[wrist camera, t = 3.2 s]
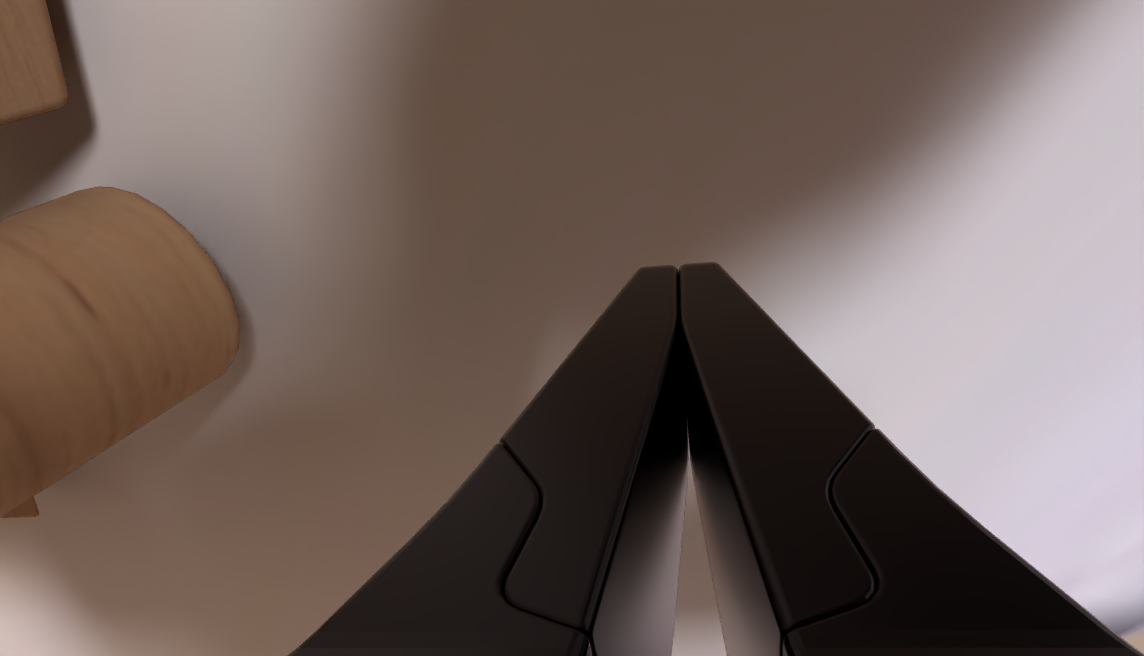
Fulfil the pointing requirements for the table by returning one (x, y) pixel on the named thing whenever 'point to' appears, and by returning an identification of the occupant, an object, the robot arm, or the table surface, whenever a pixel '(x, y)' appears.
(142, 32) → the table surface
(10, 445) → the wooden block set
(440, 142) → the table surface
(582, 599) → the robot arm
